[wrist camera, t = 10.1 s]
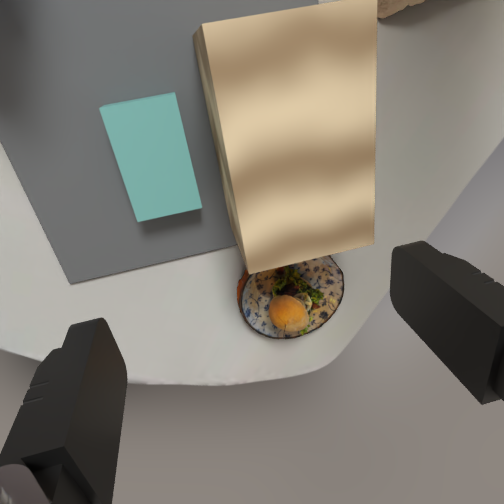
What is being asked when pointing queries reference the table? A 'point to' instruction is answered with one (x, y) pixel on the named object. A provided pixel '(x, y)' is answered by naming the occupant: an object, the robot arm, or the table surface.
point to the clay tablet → (393, 6)
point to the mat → (92, 126)
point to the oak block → (294, 128)
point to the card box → (152, 155)
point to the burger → (291, 297)
